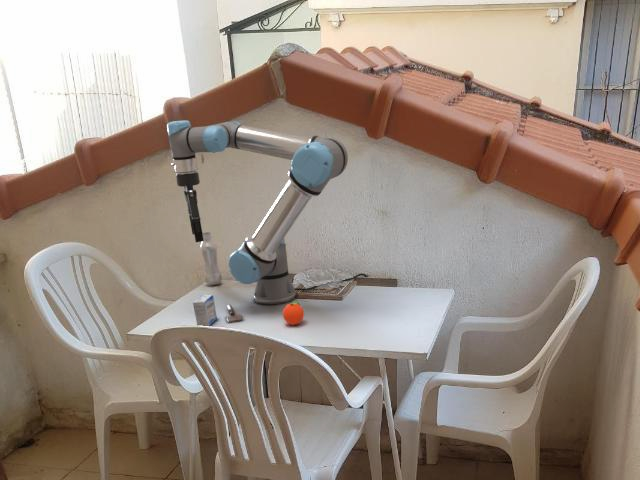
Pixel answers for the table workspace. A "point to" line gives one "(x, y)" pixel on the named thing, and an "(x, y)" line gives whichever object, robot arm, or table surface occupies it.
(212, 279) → the plastic bottle
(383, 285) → the table surface
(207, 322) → the medicine box
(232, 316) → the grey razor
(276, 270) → the robot arm
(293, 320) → the clementine
